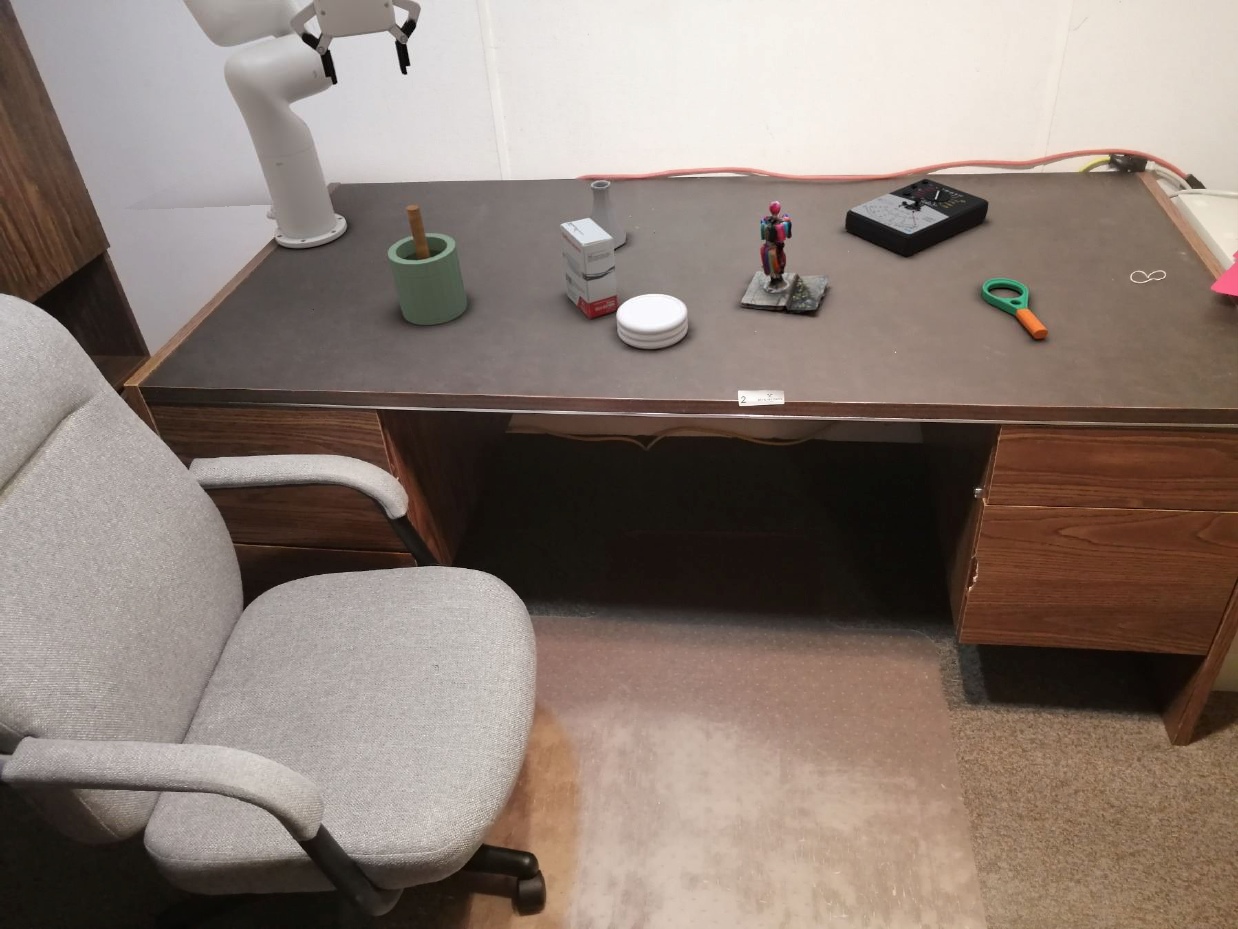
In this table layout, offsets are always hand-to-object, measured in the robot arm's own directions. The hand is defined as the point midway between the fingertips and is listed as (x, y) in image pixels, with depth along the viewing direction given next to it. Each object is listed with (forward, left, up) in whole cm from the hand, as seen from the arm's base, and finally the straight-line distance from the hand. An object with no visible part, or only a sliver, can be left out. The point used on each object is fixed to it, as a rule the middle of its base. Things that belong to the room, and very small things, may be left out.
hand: (369, 76), depth 125 cm
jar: (+10, -8, -31) cm, 33 cm away
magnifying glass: (+89, +21, -31) cm, 96 cm away
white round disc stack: (+44, -2, -31) cm, 54 cm away
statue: (+58, +14, -31) cm, 67 cm away
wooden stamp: (+10, -8, -30) cm, 33 cm away
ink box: (+32, +2, -31) cm, 44 cm away
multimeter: (+69, +43, -31) cm, 88 cm away
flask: (+24, +21, -31) cm, 44 cm away
